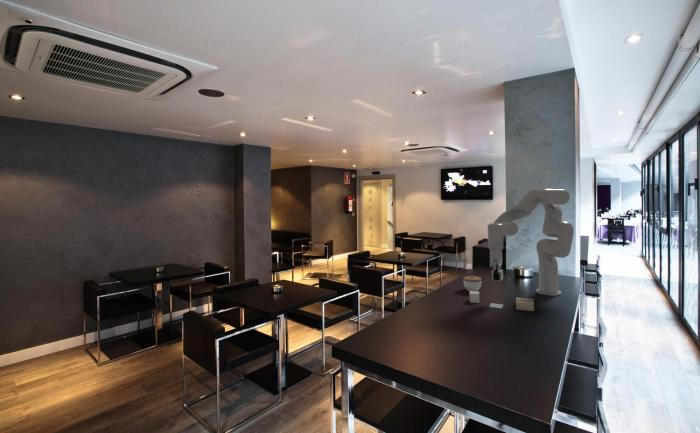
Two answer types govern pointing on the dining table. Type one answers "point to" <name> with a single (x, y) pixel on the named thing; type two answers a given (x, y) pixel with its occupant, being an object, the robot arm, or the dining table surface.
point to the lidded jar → (472, 283)
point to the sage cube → (500, 275)
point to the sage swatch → (496, 305)
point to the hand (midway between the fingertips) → (497, 278)
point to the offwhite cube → (474, 296)
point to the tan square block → (524, 304)
